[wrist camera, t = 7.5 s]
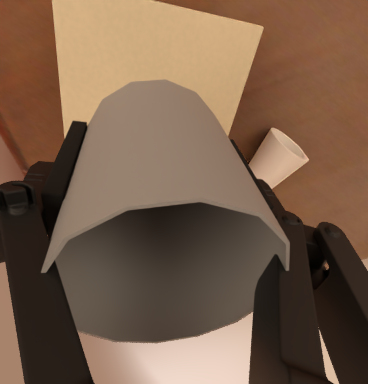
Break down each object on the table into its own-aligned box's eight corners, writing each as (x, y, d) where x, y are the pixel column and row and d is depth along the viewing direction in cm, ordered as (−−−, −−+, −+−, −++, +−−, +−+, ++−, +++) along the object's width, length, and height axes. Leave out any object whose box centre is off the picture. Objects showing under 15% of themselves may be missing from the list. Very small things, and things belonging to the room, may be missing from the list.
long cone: (182, 208, 44) (264, 121, 34) (211, 217, 48) (294, 139, 37) (188, 237, 41) (283, 148, 30) (219, 244, 44) (314, 166, 33)
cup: (224, 75, 14) (325, 183, 7) (216, 190, 20) (268, 324, 12) (67, 86, 14) (-20, 223, 6) (103, 203, 19) (80, 355, 11)
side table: (73, -23, 22) (49, -24, 16) (233, 15, 26) (264, 27, 20) (80, 134, 32) (67, 172, 25) (199, 146, 35) (212, 183, 29)
